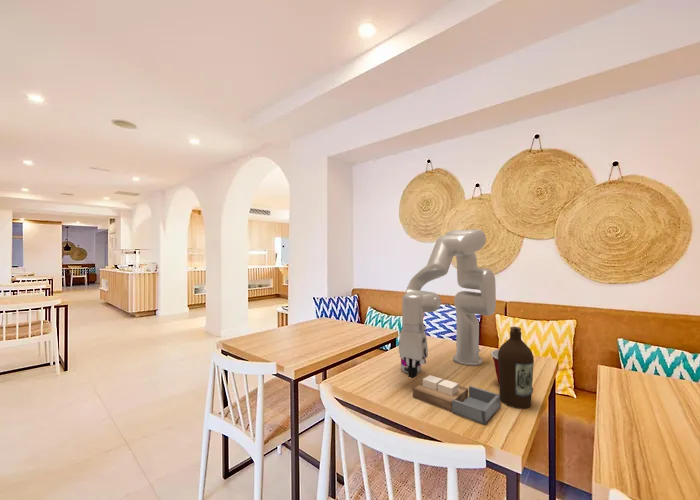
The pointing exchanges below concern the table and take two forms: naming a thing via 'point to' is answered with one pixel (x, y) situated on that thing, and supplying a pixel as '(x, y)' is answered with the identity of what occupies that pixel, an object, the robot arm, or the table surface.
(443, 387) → the tile
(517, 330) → the olive oil
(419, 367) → the supplement can
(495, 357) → the plastic cup
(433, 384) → the tile
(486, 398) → the box
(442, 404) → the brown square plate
